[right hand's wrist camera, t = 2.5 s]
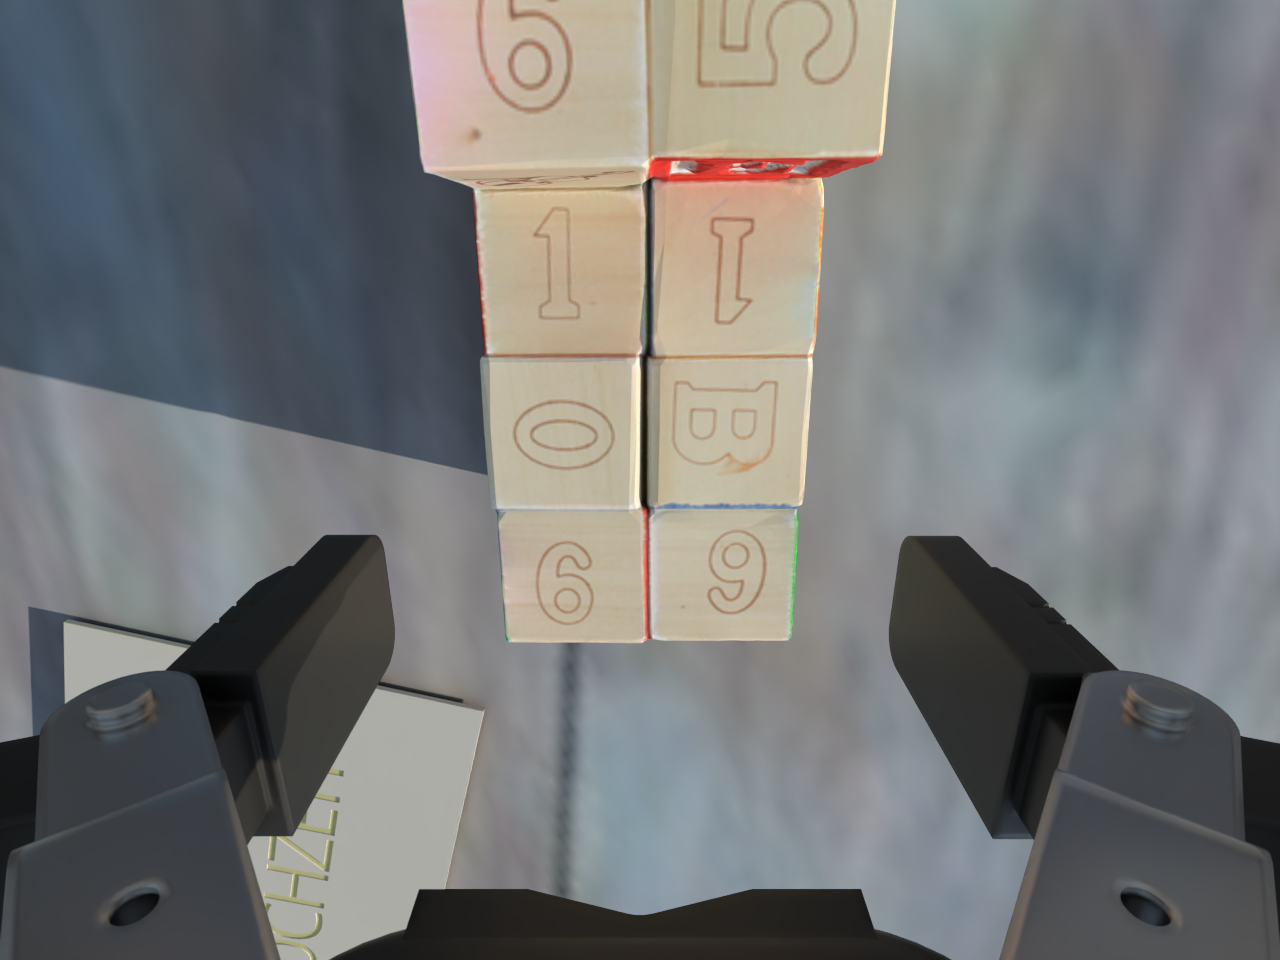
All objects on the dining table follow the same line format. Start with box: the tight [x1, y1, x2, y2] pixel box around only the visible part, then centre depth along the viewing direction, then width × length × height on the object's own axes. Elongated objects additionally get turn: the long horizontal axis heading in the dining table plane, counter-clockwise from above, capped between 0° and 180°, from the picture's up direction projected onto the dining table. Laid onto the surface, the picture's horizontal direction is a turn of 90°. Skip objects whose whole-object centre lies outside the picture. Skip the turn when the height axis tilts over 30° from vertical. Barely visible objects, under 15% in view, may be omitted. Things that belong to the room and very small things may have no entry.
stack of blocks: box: [401, 0, 896, 643], centre depth 14 cm, size 21×6×12 cm, turn 0°
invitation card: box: [64, 619, 485, 960], centre depth 29 cm, size 21×1×15 cm
